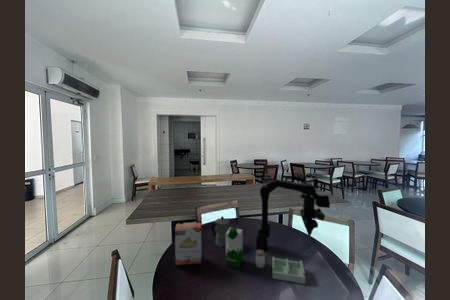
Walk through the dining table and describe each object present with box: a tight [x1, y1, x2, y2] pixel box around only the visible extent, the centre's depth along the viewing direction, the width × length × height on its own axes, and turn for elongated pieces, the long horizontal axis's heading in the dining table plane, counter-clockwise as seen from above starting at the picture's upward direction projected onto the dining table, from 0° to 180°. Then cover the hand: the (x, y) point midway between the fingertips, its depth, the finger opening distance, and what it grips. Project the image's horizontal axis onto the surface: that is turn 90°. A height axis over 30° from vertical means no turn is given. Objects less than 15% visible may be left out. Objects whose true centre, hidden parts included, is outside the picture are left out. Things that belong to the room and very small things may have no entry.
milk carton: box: [225, 227, 244, 269], centre depth 101 cm, size 9×9×20 cm
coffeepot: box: [210, 216, 231, 248], centre depth 119 cm, size 15×9×18 cm, turn 129°
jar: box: [255, 250, 266, 269], centre depth 99 cm, size 5×5×7 cm
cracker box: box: [174, 222, 202, 266], centre depth 102 cm, size 14×6×21 cm, turn 97°
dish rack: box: [271, 256, 306, 285], centre depth 93 cm, size 15×11×5 cm
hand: (307, 231), depth 107 cm, fingers open, 9 cm apart
